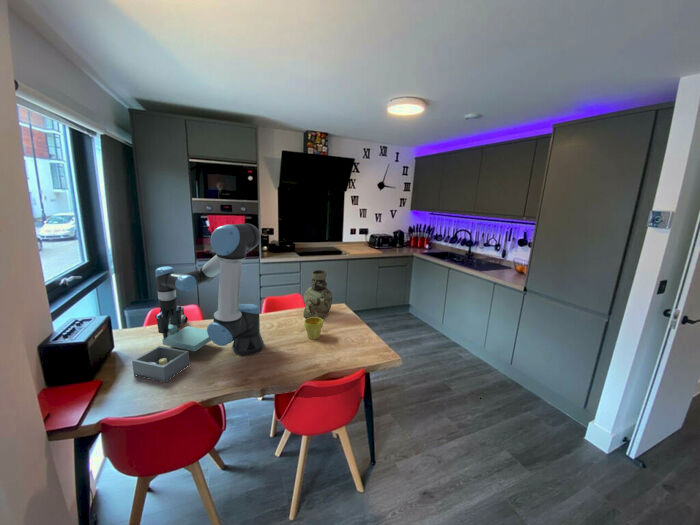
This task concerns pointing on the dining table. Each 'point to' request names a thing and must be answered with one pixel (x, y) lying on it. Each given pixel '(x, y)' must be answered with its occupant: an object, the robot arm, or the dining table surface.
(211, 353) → the dining table surface
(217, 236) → the robot arm
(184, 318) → the camera
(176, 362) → the tub
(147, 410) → the dining table surface
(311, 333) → the plant pot
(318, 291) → the ceramic vessel
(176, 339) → the lid
